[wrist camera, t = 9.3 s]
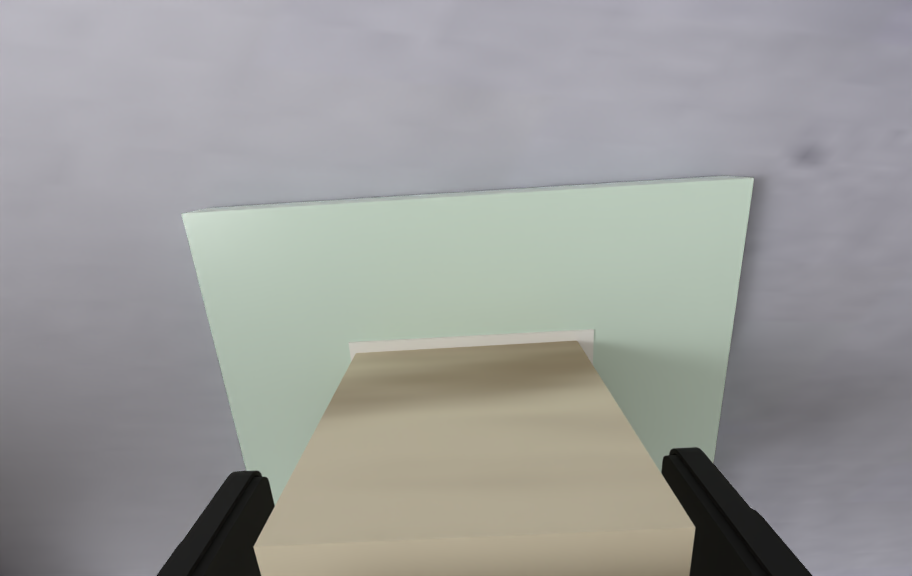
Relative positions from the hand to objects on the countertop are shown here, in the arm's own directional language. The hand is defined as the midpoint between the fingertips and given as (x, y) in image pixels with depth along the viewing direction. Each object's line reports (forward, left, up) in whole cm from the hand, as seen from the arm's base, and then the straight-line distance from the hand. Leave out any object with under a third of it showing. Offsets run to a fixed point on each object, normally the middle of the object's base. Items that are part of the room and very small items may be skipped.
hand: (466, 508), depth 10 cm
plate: (0, 0, -4) cm, 4 cm away
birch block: (0, 0, -3) cm, 3 cm away
